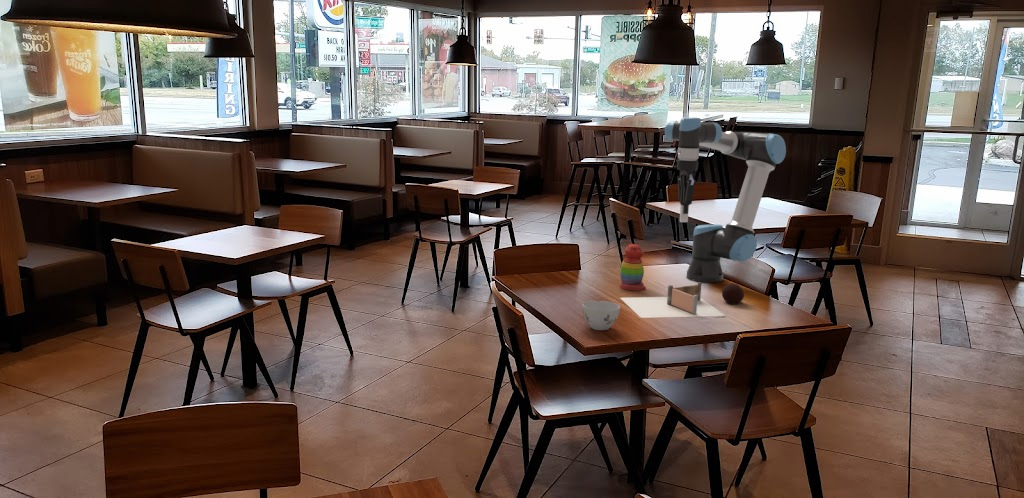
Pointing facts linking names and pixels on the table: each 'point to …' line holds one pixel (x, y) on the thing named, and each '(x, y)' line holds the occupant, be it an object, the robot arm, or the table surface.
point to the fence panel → (684, 301)
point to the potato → (733, 293)
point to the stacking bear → (632, 269)
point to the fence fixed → (685, 291)
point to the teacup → (600, 314)
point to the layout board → (667, 308)
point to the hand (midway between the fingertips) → (683, 221)
